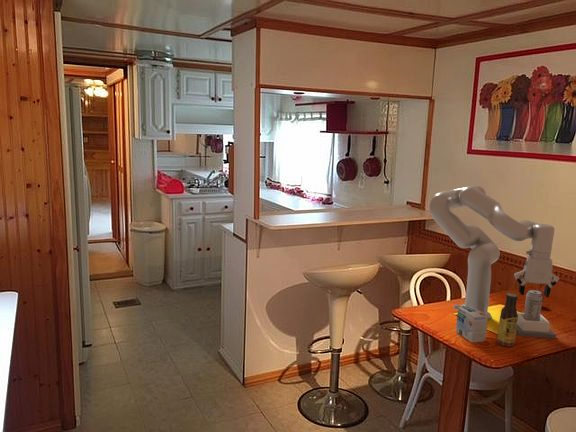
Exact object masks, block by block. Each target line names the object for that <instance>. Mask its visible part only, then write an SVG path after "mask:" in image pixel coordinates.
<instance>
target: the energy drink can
mask: <svg viewBox="0 0 576 432" xmlns="http://www.w3.org/2000/svg"><path fill="white" fill-rule="evenodd" d="M537 290H538V289H536V290H535V289H529V290H528V291H527V293H526V295H525V303H524V312H523V313H524V319H525V320H527V321H540V314H541V313H542V305H543V302H542V298H544V296H543V297H542V295H543V293H542V291H540V290H539V291H537ZM541 315H542V314H541Z"/></svg>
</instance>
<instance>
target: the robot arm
mask: <svg viewBox="0 0 576 432" xmlns="http://www.w3.org/2000/svg"><path fill="white" fill-rule="evenodd" d="M461 207H467V208H468V209H471V210H472V211H473V212H475V213H476V214H478V215H480V216H481V217H483V218H484V219H485V220H487V221H488V223H489V224H490V225H491V226H492V227H493V228H494V229H495V230H497V231H498V232H499V233H501V234H502V235H504V236H505V237H507V238H509V239H511V240H512V241H515V242H523V241H526V240H527V239H530V240H531V243H530V248H529V250H526V252H525V254H526V255H527V257H526V260H525V262H524V266H523V269H522V270H520V271H518V272H515V273H514V275H513V276H514V278H515V281H516V282H517V283H518V284H519V285H518V292H519V294H520V296H524V295H525V289H526V286H525V284H527V283H530V284H539V285H540V284H542V285H543V284H544V285H545V286H544V290H543V296H545V297H546V298H549V296H550V295H551V290H552V289H553V287H554V286H556V284H557V283H558V282H559V280H560V277H559V276H557V275H556V274H554V273H553V260H552V258H551V255H552V247H553V242H554V237H555V228H554V226H553V225H551V224H547V223H537V222H535V221H531V220H526V219H523V220H519V221H517V220H516V219H514V218H513V217H512V216H510V215H508V214H507V213H506V212H505V211H504V210H503V208H502V205H501V204H500V202H498V201H497V200H495V199H494V198H492V197H490V196H489V195H487V193H486V191H485V189H484V187H482V186H480V185H476V184H473V185H468V186H465V187H460V188H455V189H448V190H444V191H439V192H437V193H436V194H434V195H433V196H432V197H431V199H430V202H429V212H430V216H431V218H432V219H433V221H434V222H435V223H436V224H437V225H438V226H439V227H440V228H441V229H442V230H443V232H444V233H446V235H447V236H448V237H449V238H450V239H451V240H452V241H453V242H454V244H456V246H458V247H459V248H460V249H469V248H470V249H471V250H470V251H469V253H468V256H467V281H466V290H465V291H466V293H465V302H462V303H461V304H453V309H454V310H458V307H467V306H473V307H474V308H476V309H478V310H479V311H481V312H483V313H485V314H487V315H488V320H490V319H491V317H492V315H491V312H489V303H490V301H489V300H490V292H491V282H492V264H494V263H495V262H497V261H498V260H499V259H500V256H501V252H500V248H499V247H498V246H497V244H496V243H495V242H494V241H493V240H492V239H491V237H489V236H488V235H487V234H486V233H485V232H484V231H483V229H481V228H480V227H479V226H478V225H475V224H465V223H464V222H463V221H462V220H461V219H460V218H459V216H458V215H456V214H455V213H453V212H452V211H451V210H453V209H455V208H461ZM520 276H522V277H521V279H520Z"/></svg>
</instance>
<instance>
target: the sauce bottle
mask: <svg viewBox="0 0 576 432" xmlns="http://www.w3.org/2000/svg"><path fill="white" fill-rule="evenodd" d="M518 298H519V297H518V294H516V293H511V292H509V293H506V295H505V303H504V306H503V307H502V308H501V310H500V316H499V320H498V328H497V336H496V338H497V339H496V340H497V341H496V342H497V344H498V345H500V346H503V347H513V346H514V344H515V341H516V335H517V333H516V328H517V321H518V315H517V312H518V311H517V301H518Z"/></svg>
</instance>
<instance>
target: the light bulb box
mask: <svg viewBox="0 0 576 432" xmlns="http://www.w3.org/2000/svg"><path fill="white" fill-rule="evenodd" d="M488 321H489V319H488V315H487V314H485V313H483V312H481V311H479V310H478V309H476V308H474V307H473V306H467V307H458V309H457V316H456V326H455V332H456V333H457V334H458V335H460V336H461V337H463V338H464V339H465V340H467V341H469V343H480V342H481V343H482V342H486V336H487V329H488V328H487V327H488Z"/></svg>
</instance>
